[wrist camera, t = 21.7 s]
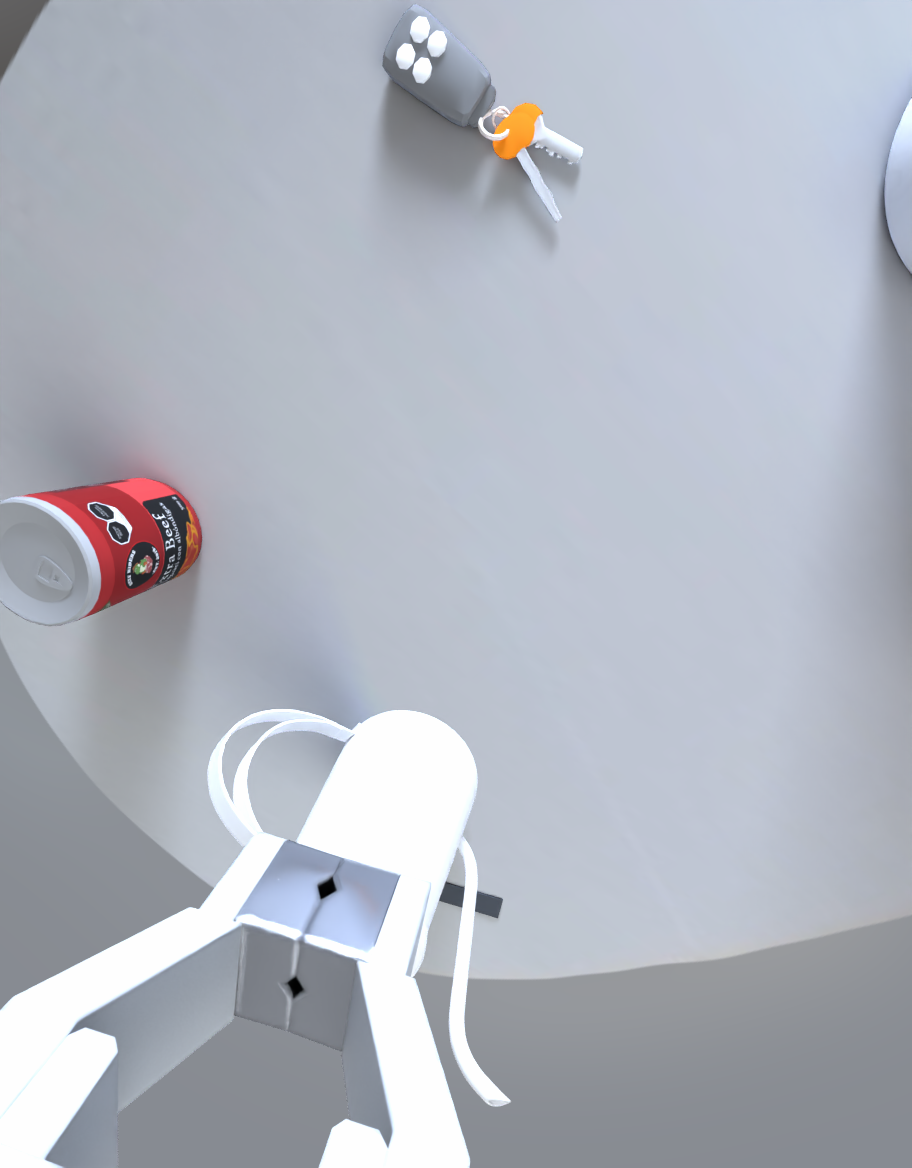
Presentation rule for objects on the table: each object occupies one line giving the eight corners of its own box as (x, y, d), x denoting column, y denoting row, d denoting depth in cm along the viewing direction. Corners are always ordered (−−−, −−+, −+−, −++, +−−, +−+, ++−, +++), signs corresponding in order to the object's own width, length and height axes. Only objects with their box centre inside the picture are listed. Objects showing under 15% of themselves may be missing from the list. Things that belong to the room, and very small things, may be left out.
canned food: (199, 589, 45) (89, 644, 34) (107, 558, 45) (-29, 603, 35) (212, 494, 42) (96, 523, 32) (114, 463, 43) (-31, 480, 32)
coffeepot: (481, 905, 48) (433, 1191, 31) (261, 704, 47) (75, 885, 29) (577, 839, 45) (585, 1119, 27) (343, 618, 43) (187, 764, 25)
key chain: (380, 79, 33) (372, 64, 31) (417, 9, 31) (410, -10, 30) (557, 225, 33) (557, 217, 32) (601, 162, 32) (603, 151, 31)
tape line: (502, 899, 48) (502, 900, 48) (497, 917, 49) (497, 918, 48) (300, 839, 50) (299, 840, 50) (298, 857, 51) (297, 858, 50)
